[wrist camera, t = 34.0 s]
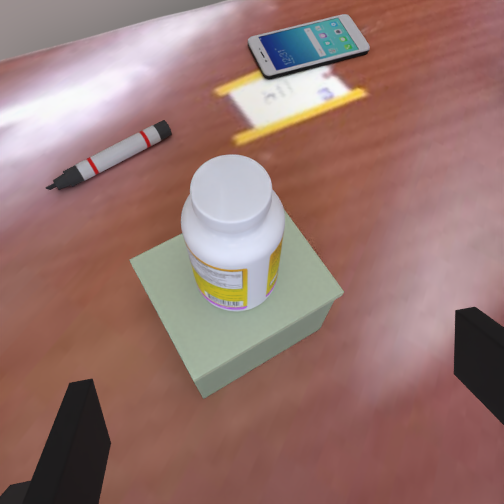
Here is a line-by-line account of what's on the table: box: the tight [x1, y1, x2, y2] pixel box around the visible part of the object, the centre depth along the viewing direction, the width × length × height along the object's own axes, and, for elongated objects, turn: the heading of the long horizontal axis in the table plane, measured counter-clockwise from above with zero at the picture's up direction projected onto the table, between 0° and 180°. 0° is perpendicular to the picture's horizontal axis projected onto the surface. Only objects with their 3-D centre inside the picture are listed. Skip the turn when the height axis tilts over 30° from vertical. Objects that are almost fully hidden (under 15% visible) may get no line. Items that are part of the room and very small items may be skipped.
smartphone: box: [248, 14, 369, 79], centre depth 61 cm, size 8×1×15 cm
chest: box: [194, 301, 334, 399], centre depth 42 cm, size 13×11×8 cm
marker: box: [46, 120, 172, 190], centre depth 52 cm, size 15×2×2 cm, turn 125°
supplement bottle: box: [181, 155, 285, 312], centre depth 32 cm, size 7×7×13 cm
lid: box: [129, 210, 344, 382], centre depth 38 cm, size 14×11×1 cm
